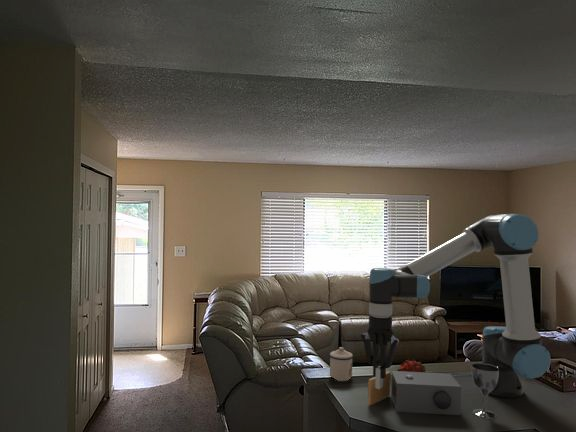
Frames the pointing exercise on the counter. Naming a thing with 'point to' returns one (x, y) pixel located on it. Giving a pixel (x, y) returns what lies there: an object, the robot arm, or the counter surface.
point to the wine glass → (485, 385)
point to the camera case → (425, 393)
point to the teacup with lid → (341, 364)
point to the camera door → (378, 390)
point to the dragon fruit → (412, 366)
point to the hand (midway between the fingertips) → (379, 387)
